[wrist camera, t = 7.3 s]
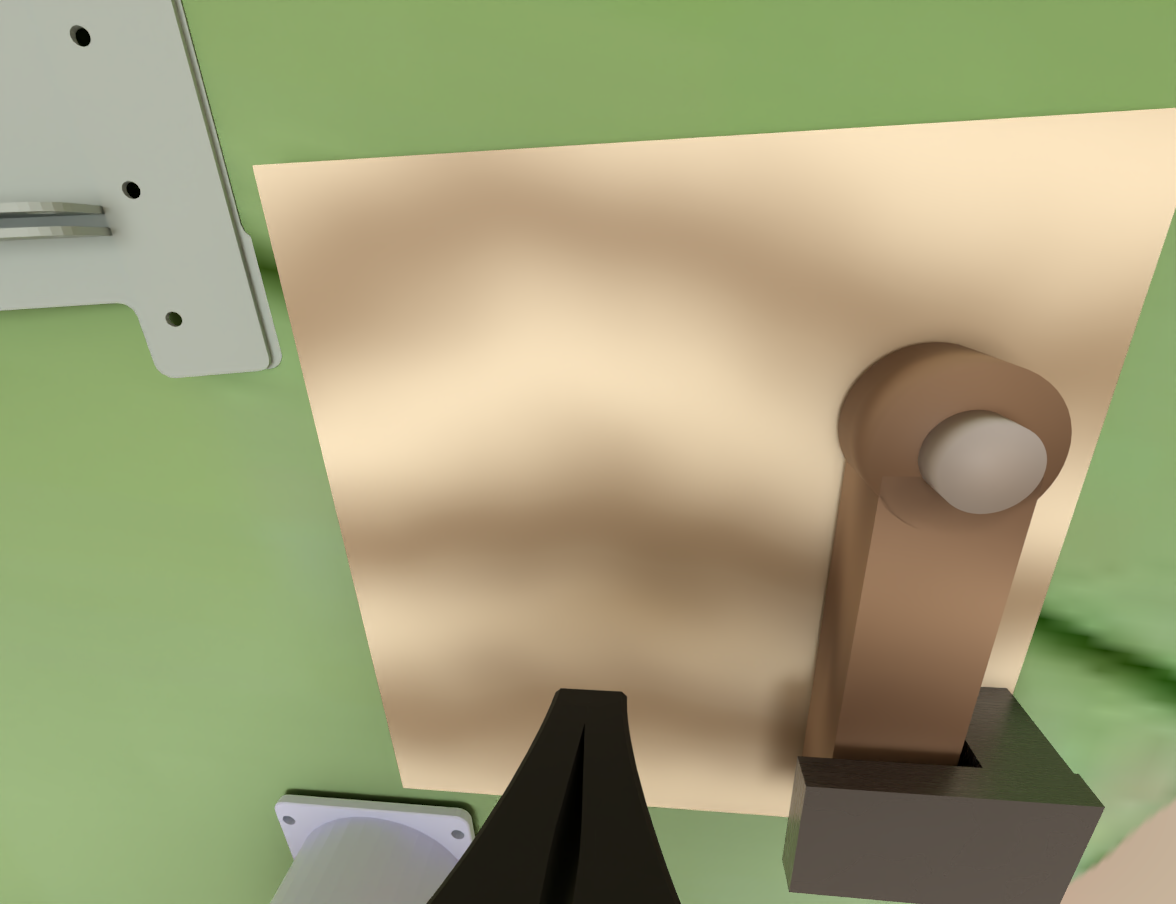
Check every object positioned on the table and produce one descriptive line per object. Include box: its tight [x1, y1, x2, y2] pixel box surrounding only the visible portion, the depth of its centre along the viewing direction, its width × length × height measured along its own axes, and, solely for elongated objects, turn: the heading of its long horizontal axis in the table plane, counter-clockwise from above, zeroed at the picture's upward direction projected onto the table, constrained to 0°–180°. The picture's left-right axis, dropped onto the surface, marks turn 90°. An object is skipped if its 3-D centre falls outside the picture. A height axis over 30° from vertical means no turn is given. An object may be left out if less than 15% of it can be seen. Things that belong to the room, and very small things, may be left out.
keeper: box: [782, 687, 1105, 904], centre depth 15 cm, size 4×6×3 cm, turn 92°
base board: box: [252, 108, 1176, 817], centre depth 15 cm, size 20×19×1 cm
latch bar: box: [802, 342, 1072, 766], centre depth 13 cm, size 14×4×3 cm, turn 2°
